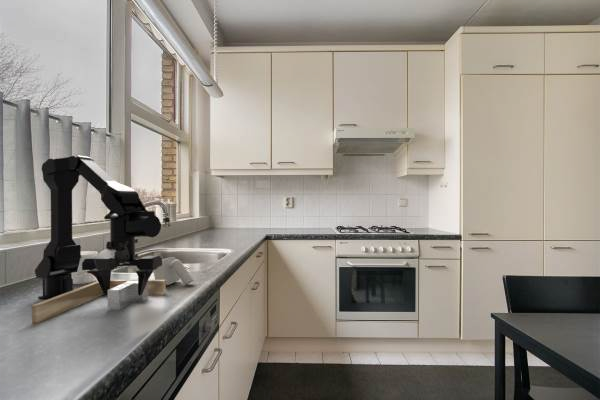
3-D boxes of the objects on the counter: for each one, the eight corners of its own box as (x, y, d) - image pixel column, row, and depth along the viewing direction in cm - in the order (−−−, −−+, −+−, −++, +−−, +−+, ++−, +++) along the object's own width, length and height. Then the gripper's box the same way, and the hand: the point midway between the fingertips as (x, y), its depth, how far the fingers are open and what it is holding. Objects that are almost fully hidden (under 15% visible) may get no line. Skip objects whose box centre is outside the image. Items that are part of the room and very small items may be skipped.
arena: (32, 323, 70) (32, 305, 70) (101, 293, 93) (101, 279, 93) (117, 323, 70) (117, 305, 70) (165, 293, 92) (165, 279, 93)
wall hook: (186, 287, 97) (179, 255, 97) (158, 293, 99) (151, 262, 99) (200, 280, 104) (193, 251, 105) (173, 286, 106) (166, 258, 107)
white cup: (102, 280, 108) (102, 252, 108) (76, 286, 102) (76, 255, 102) (91, 278, 113) (91, 250, 113) (65, 282, 106) (65, 253, 106)
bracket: (128, 298, 87) (128, 281, 88) (147, 298, 87) (147, 280, 87) (107, 309, 78) (107, 290, 79) (129, 309, 78) (128, 290, 78)
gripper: (64, 240, 75) (65, 305, 75) (140, 239, 74) (141, 305, 74) (96, 235, 86) (97, 291, 86) (162, 234, 85) (163, 291, 85)
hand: (123, 295), depth 83 cm, fingers open, 9 cm apart
